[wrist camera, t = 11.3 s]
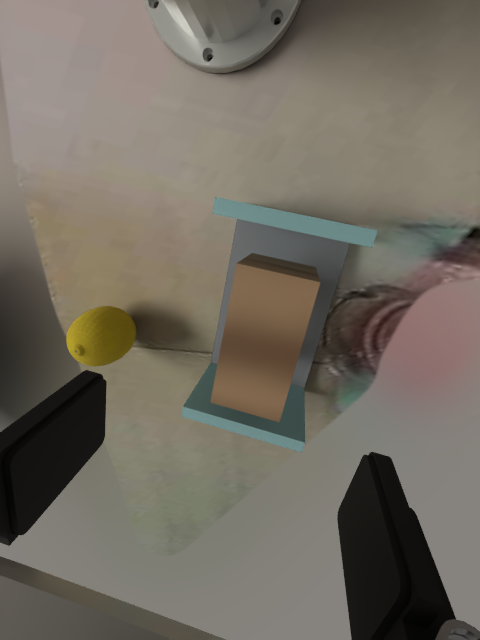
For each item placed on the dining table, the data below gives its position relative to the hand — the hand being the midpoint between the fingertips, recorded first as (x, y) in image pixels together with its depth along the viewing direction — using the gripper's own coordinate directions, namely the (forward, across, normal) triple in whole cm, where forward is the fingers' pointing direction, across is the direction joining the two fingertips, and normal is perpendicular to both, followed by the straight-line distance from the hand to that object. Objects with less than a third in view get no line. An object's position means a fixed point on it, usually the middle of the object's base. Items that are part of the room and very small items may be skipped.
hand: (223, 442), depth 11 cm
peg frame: (+20, 0, +1) cm, 20 cm away
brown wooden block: (+15, 0, +1) cm, 15 cm away
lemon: (+20, +15, +7) cm, 26 cm away
